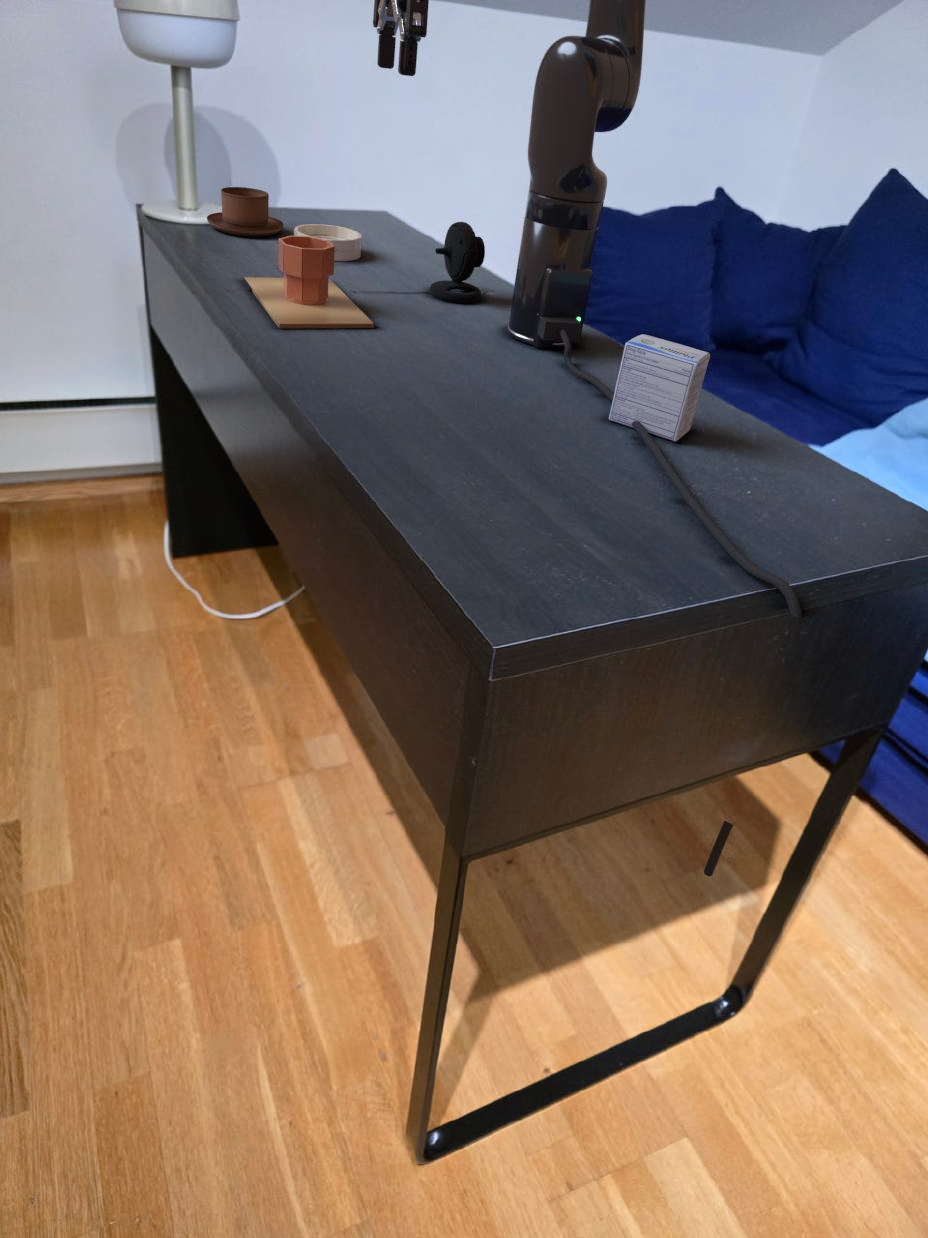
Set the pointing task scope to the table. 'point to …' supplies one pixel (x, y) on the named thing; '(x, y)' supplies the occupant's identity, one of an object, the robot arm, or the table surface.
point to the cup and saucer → (245, 213)
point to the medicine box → (659, 386)
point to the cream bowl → (335, 239)
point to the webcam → (460, 264)
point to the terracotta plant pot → (306, 268)
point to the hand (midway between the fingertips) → (395, 71)
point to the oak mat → (307, 307)
